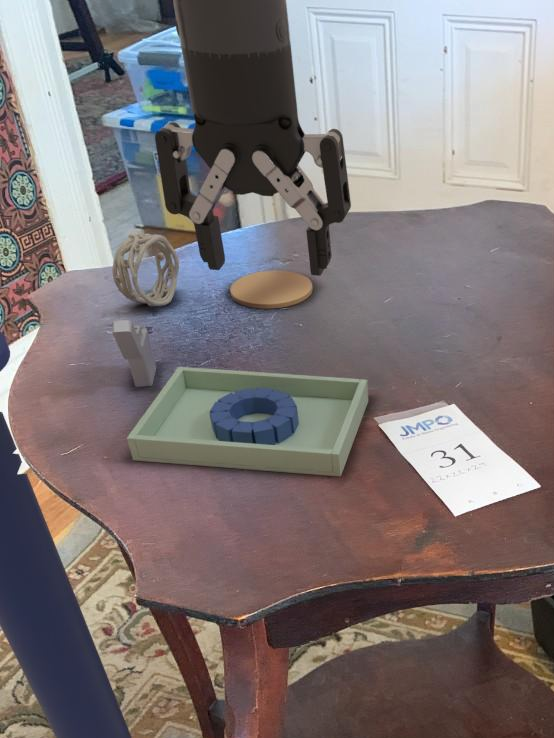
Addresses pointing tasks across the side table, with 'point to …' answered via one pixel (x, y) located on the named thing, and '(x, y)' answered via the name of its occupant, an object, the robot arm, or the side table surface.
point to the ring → (250, 403)
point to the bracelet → (132, 246)
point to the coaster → (271, 289)
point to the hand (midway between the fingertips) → (267, 269)
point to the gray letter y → (136, 351)
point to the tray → (294, 455)
